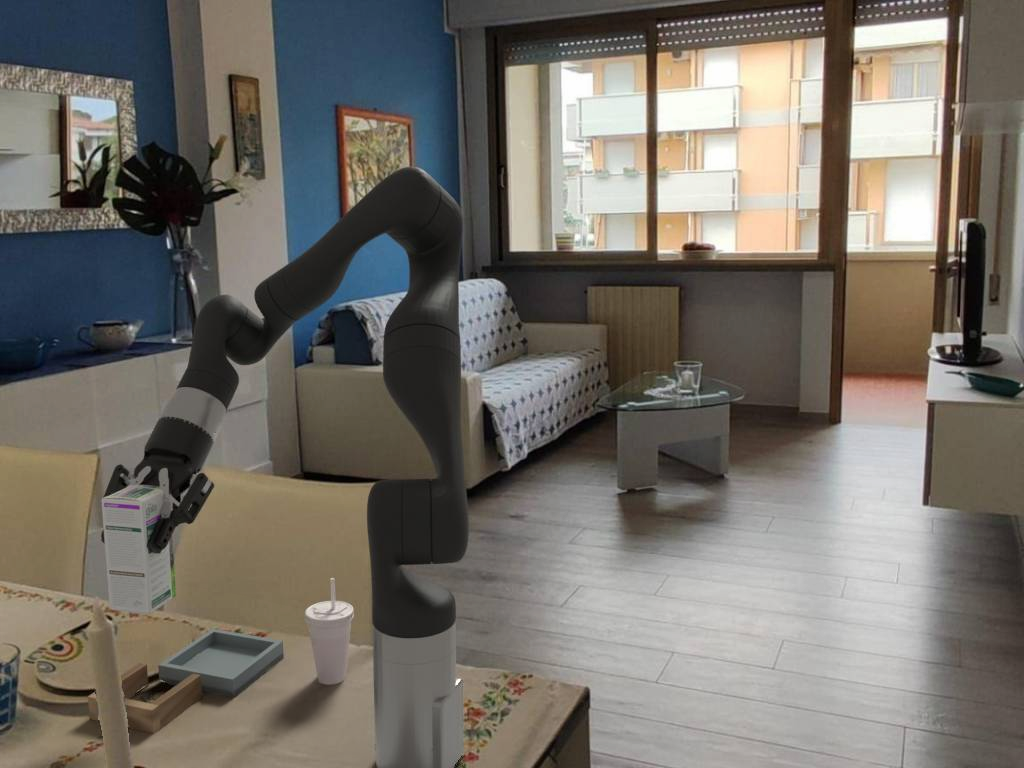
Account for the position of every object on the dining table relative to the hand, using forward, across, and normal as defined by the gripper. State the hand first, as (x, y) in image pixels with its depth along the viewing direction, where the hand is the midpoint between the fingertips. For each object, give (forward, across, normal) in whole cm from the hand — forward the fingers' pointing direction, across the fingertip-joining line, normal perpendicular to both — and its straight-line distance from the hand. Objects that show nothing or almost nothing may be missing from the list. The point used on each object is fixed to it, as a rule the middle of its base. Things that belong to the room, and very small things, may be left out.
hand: (129, 547), depth 117 cm
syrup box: (+5, 0, -7) cm, 8 cm away
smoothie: (+4, -18, -26) cm, 32 cm away
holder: (+14, 0, -16) cm, 22 cm away
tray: (+6, -3, -24) cm, 25 cm away
